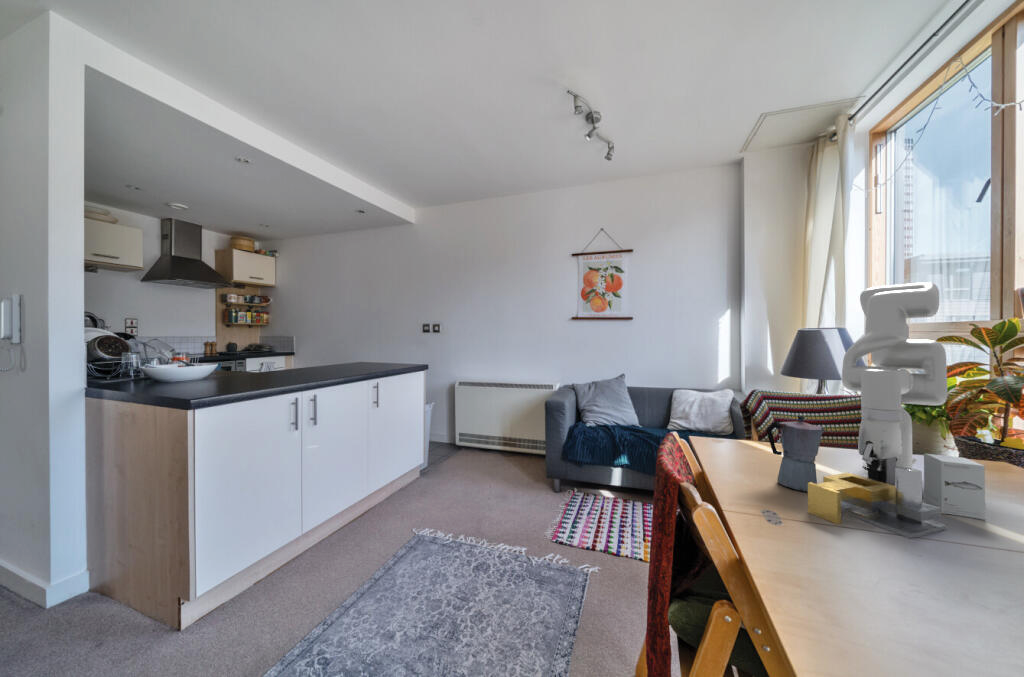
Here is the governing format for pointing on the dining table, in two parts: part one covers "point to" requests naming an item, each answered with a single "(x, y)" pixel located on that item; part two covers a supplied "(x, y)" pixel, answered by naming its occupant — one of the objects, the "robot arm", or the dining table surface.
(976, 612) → the dining table surface
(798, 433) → the moka pot
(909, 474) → the stepped holder fixture
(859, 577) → the dining table surface
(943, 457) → the supplement box
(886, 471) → the wedge pin
